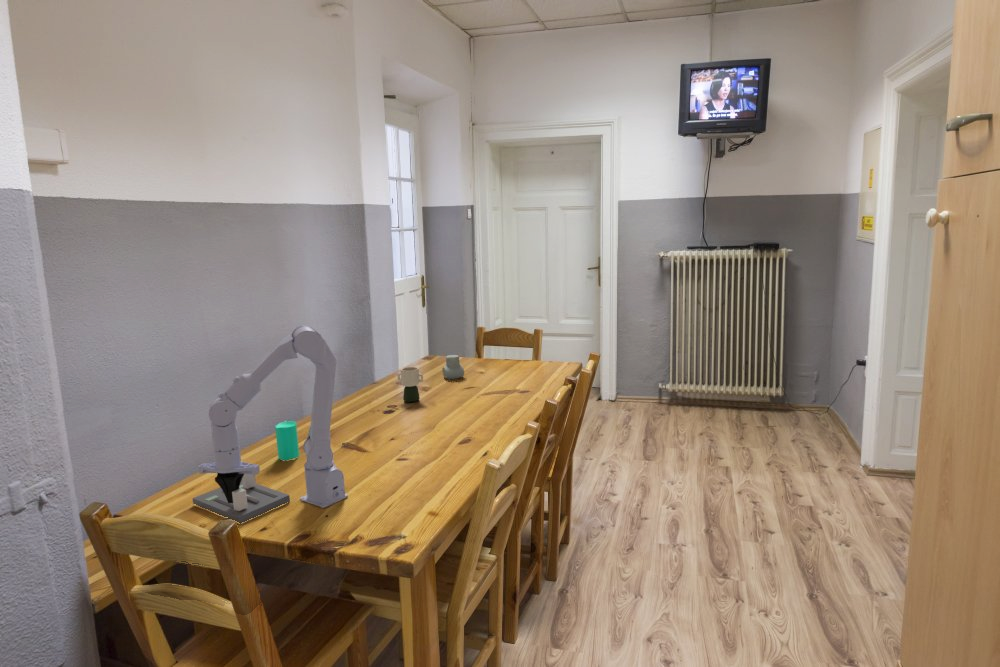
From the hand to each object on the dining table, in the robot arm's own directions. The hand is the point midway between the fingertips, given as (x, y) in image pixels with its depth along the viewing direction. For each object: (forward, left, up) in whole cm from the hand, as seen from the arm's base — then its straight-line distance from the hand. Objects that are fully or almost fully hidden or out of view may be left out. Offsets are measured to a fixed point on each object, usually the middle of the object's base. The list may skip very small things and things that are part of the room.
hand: (232, 501), depth 154 cm
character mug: (+30, -96, -4) cm, 100 cm away
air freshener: (+39, -133, -4) cm, 138 cm away
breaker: (+7, -9, -1) cm, 11 cm away
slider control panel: (+4, -5, -3) cm, 7 cm away
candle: (+21, -32, -4) cm, 38 cm away
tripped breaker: (-3, 0, -1) cm, 3 cm away
